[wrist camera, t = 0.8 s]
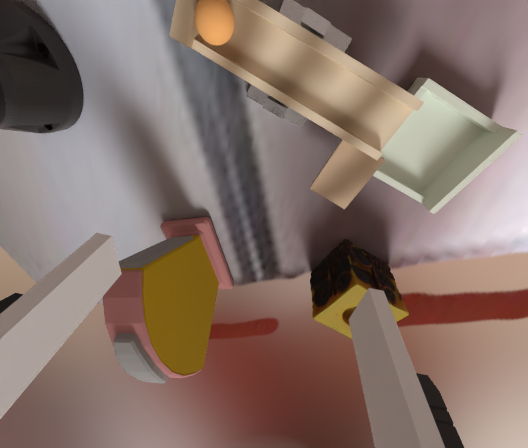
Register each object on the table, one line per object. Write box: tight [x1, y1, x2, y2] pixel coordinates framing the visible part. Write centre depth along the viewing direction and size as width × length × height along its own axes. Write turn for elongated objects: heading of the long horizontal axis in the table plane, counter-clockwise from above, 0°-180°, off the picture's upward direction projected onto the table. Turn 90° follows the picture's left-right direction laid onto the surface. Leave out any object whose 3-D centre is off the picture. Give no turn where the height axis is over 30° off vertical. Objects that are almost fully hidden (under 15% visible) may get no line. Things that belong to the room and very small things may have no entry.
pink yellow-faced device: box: [103, 217, 234, 383], centre depth 37 cm, size 22×9×22 cm, turn 12°
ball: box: [194, 0, 234, 46], centre depth 22 cm, size 4×4×4 cm
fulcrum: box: [246, 0, 352, 128], centre depth 25 cm, size 8×10×6 cm
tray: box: [373, 78, 523, 214], centre depth 28 cm, size 11×11×5 cm
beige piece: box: [169, 0, 424, 209], centre depth 25 cm, size 25×13×4 cm, turn 66°
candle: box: [310, 240, 409, 338], centre depth 39 cm, size 10×10×10 cm
